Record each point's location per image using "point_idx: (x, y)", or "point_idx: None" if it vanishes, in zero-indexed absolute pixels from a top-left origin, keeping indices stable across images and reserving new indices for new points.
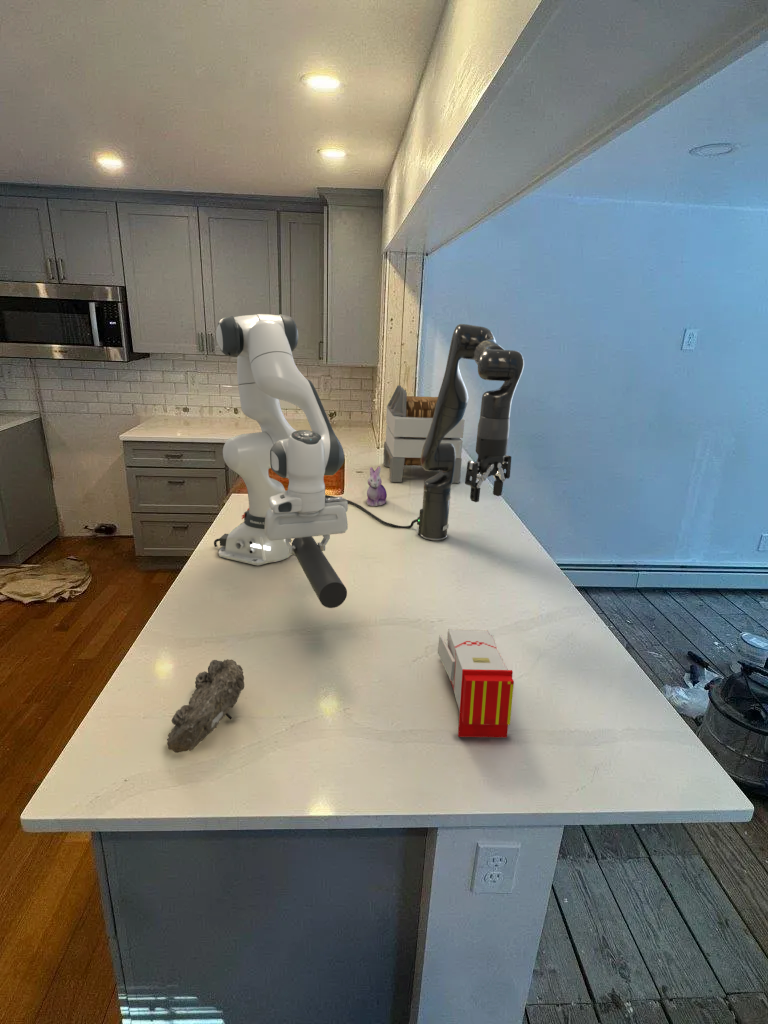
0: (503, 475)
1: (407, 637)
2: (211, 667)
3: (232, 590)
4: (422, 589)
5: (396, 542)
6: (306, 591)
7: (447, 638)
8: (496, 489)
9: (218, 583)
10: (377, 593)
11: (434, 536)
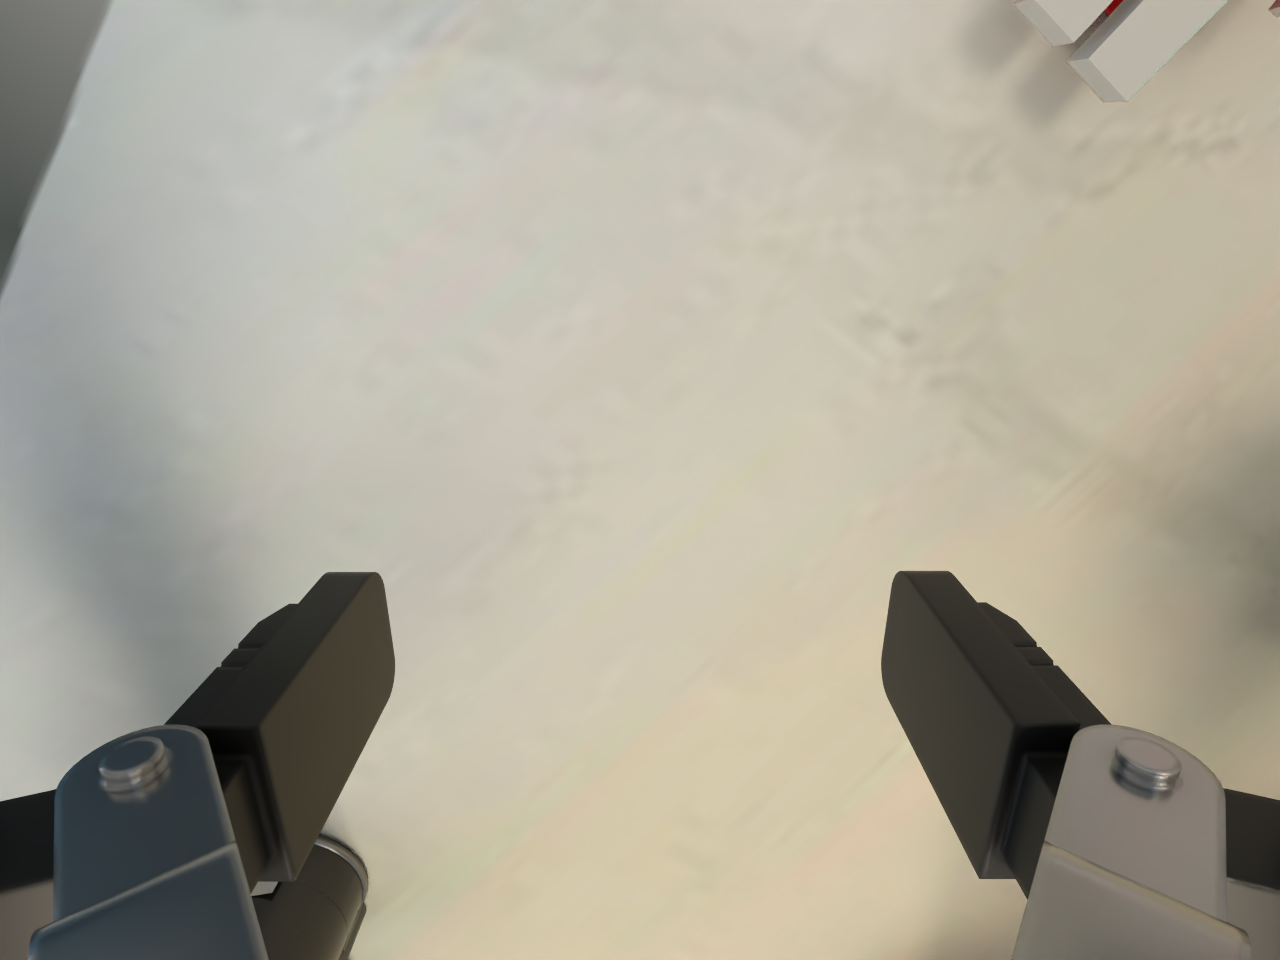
0: (67, 881)
1: (1092, 305)
2: None
3: None
4: (718, 563)
5: (498, 904)
6: None
7: (1108, 100)
8: (352, 692)
9: None
10: None
11: (331, 863)
